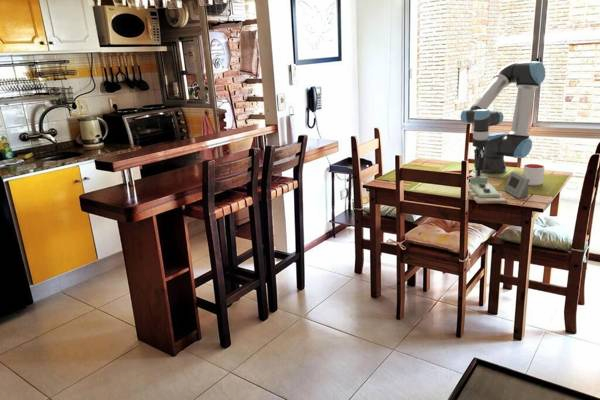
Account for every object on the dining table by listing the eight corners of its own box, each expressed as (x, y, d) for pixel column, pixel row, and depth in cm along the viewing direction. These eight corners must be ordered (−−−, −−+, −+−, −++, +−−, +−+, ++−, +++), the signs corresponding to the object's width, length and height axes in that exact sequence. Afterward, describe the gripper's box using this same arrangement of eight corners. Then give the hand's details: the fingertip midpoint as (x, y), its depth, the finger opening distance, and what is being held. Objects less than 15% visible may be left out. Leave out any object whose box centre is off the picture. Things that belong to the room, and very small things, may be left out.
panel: (468, 185, 250) (469, 177, 249) (487, 184, 249) (488, 176, 248) (478, 197, 230) (479, 188, 228) (499, 196, 228) (500, 188, 227)
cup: (544, 186, 245) (546, 168, 242) (524, 186, 247) (526, 168, 244) (539, 181, 255) (541, 163, 252) (520, 181, 257) (521, 164, 254)
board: (464, 186, 253) (464, 179, 251) (490, 186, 251) (491, 179, 250) (477, 203, 225) (477, 195, 224) (506, 203, 223) (507, 194, 222)
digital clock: (502, 190, 244) (504, 170, 240) (520, 189, 242) (522, 170, 239) (511, 199, 228) (513, 179, 225) (530, 199, 227) (532, 178, 224)
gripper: (470, 136, 250) (467, 178, 257) (475, 141, 238) (473, 184, 245) (484, 136, 249) (481, 178, 256) (490, 140, 237) (487, 184, 244)
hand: (477, 181), depth 250 cm, fingers closed
